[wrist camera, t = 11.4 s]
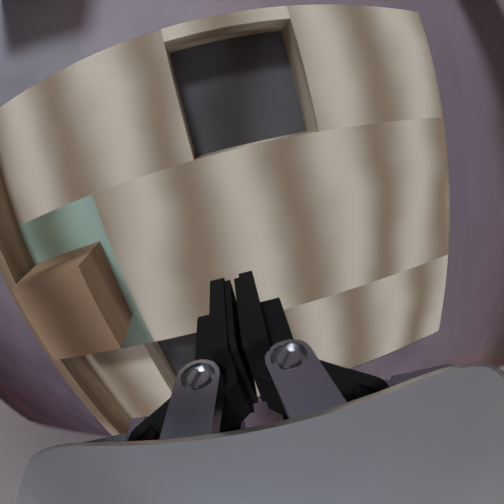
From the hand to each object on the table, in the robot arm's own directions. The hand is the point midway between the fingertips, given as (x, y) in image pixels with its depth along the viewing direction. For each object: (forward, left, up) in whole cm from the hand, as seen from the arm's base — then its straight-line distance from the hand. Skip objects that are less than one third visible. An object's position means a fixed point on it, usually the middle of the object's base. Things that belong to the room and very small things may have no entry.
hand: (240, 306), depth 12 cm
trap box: (-1, +1, -12) cm, 12 cm away
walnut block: (+11, +1, -9) cm, 14 cm away
